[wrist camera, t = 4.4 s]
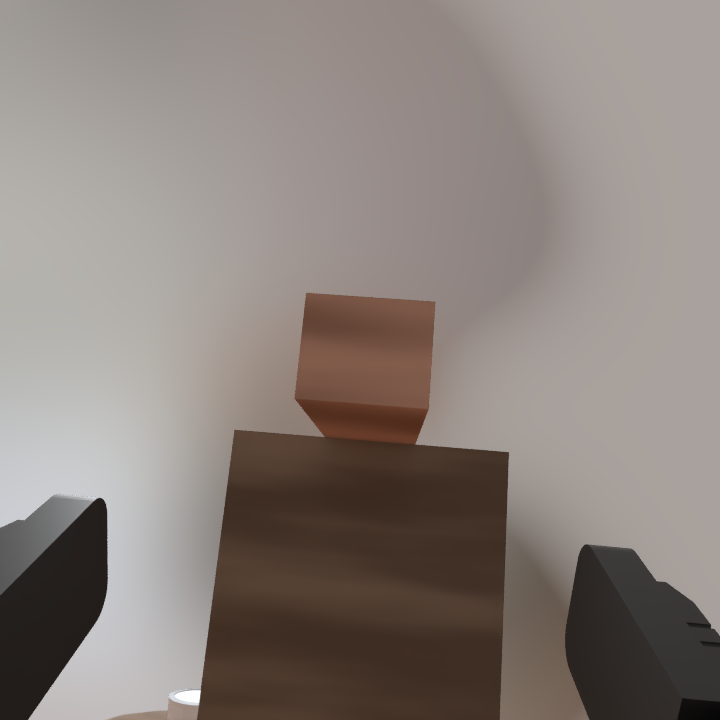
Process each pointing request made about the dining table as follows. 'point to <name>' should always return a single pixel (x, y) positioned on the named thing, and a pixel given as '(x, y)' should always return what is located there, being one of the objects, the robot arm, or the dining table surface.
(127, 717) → the dining table surface
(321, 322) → the wooden block
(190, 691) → the white tub
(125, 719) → the dining table surface
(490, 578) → the walnut pillar
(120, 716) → the dining table surface
